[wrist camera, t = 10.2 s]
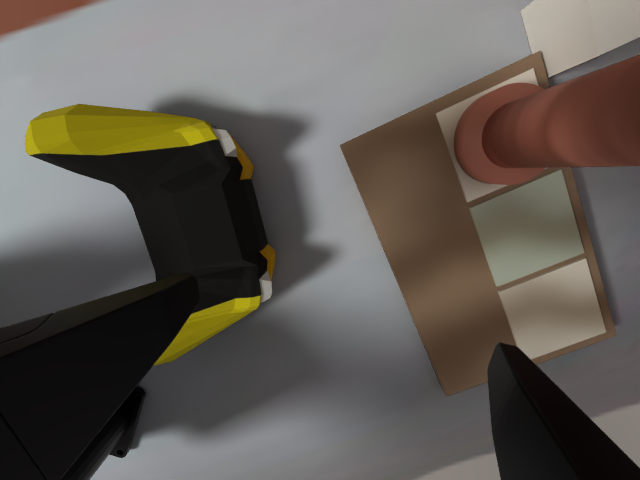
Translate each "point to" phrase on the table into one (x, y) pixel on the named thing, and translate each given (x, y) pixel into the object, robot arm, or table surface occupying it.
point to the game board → (479, 241)
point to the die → (579, 29)
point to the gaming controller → (174, 202)
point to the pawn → (552, 126)
